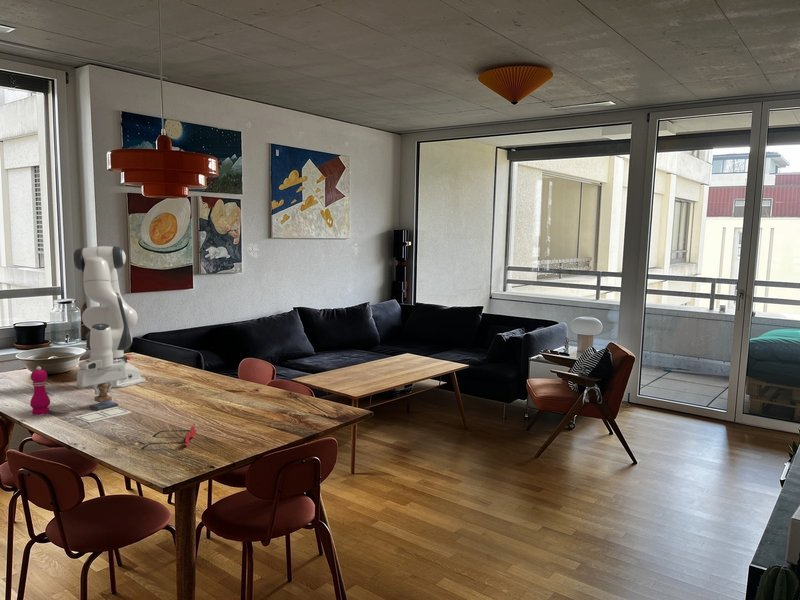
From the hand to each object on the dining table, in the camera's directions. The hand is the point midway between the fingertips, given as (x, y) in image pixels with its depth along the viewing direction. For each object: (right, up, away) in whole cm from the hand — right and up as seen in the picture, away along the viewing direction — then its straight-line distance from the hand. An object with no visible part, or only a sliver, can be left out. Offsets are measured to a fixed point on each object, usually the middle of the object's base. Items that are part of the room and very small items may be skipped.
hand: (102, 393), depth 262 cm
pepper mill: (-21, -7, -10) cm, 24 cm away
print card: (+5, -8, -10) cm, 14 cm away
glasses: (+44, -13, -40) cm, 61 cm away
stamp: (0, -3, 0) cm, 3 cm away
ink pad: (0, -6, +1) cm, 6 cm away
